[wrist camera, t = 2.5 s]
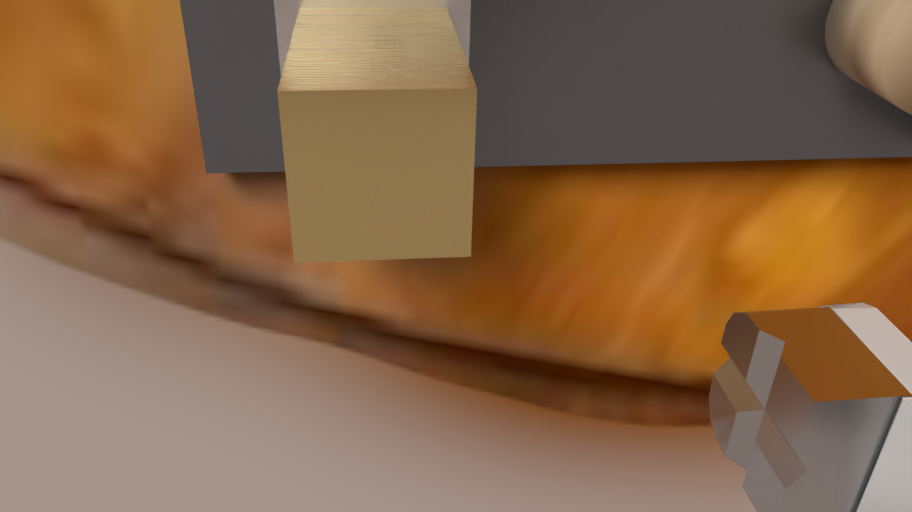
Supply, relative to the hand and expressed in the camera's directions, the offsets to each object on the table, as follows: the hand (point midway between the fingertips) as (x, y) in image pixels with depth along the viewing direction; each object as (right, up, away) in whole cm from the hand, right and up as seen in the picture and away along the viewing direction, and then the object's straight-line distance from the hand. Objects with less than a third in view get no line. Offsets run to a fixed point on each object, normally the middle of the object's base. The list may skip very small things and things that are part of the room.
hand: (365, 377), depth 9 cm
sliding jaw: (-1, +8, +13) cm, 15 cm away
